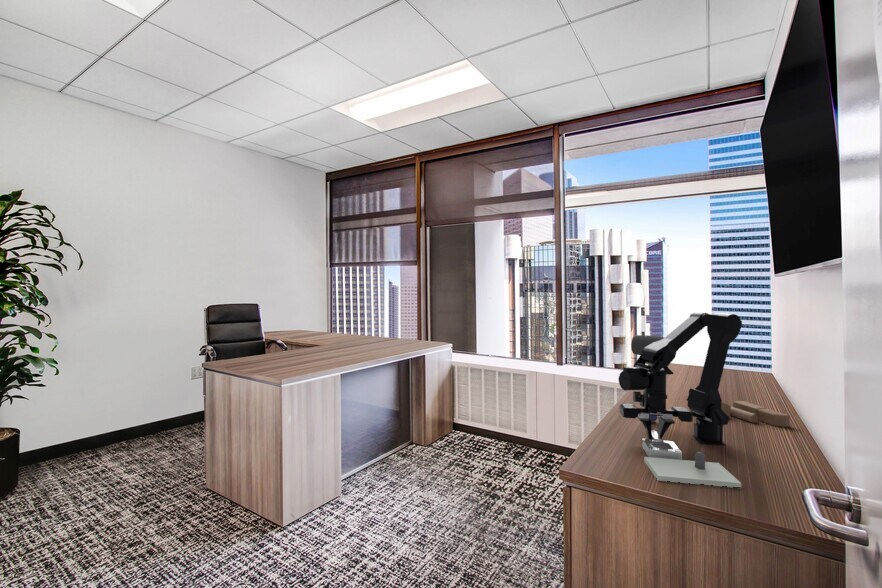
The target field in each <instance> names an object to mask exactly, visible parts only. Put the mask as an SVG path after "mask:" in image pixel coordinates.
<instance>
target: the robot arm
mask: <svg viewBox="0 0 882 588" xmlns="http://www.w3.org/2000/svg"><path fill="white" fill-rule="evenodd" d="M705 327H706V332H707V335H708V337H709V345H708V347H707V352H706V355H705V360H704V364H703V368H702V372H701V376H700V380H699V383H698V385H697V386H695V388H690V389H689V390H688V396H687V397H686V399H685V400H686V401H687V407H688V408H686V407H685V406H671V408H670V409H667V399H668V394H667V376H669V375H671V376H672V375H674V372H673V371H672V370H671V369H670V368H669V365H670V364H671V363H672V362H673V361H674V359H675V358H676V355H677V352H678V351H679V350H680V349H681V348H682V347H683V346H684V345H686V343H688V342H689V341H690V340H691V339H692V338H694V337H695V336H696V335H697V334H698V333H699V332H701V331H702V330H703V329H704V328H705ZM742 327H743V321H742V320H741V318H740V316H739V315H737V314H735V313H722V312H714V313H711V314H710V313H707V312H701V311H700V312H698V311H695V312H692V313H690V315H689V317H687V318H686V319H685V320H684V321H683V322H682V323H681V324H679V325H678V326H677V327H676V328H675V329H673V330H672V331H671V332H670V333H668V334H667V335H666V336H665V338H664V339H662V340H659V341H656V342H653V343H652V344H650V345H648V346H646V347H645V348H644V349H643V350H642V354H641V355H639V357H638V358H637V360H636V361H635V363H634V364H633V365H632V366H631V367H630V366H623V367H622V370H621V371H620V373H619V375H618V384H619V386H620V388H621V389H622V390H623V391H632V399H633V402H634V403H639V406H640V407H637V406H636V405H635V404H634V403H621V404H620V405H619V411H618V412H619V413H620V415H621V416H622V417H623V418H625V419H638V420H639V421H640V422H641V423H642V425H643V427H644V430H645V433H646V436H647V439H651V438H652V431H653V430H652V429H653V427H652V423H653V422H651V420H650V419H649V415H654V416H657V421H658V423H657V424H658V426H657V434H658V435H659V436H660V437H661V439H662V440H663V437H664V435H665V434H666V432H667V430H668V429H669V427H670V426H671V425H674V424H675V420H674V418H678V420H679V421H680V422H686V423H693V420H694V418H695V422H694V423H693V435H692V437H694V438H695V439H696V440H698V441H699V442H700V443H701V444H711V445H726V442H725V441H724V440H723V438H724V437H723V436H724V431H723V430H724V426H726V425H728V424H729V420H730V418H729V417H728V416H727V415H726V414H725V413H724V411H723V410H722V409H721V404H722V403H723V401H722V398H721V395H720V391H719V388H720V385H721V380H722V375H723V373H724V372H723V371H724V369H725V363H726V359H727V355H728V352H729V348H730V345H731V343H733V341H735V339H737V337H739V334H740V333H741V329H742ZM649 365H651V366H649ZM641 391H643V394H642V392H641Z"/></svg>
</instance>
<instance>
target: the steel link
mask: <svg viewBox="0 0 882 588" xmlns="http://www.w3.org/2000/svg"><path fill="white" fill-rule="evenodd" d="M657 433H658V431H656V430H652V438H651V439H648V438H642V442H641V443H642V448H643V451H644V453H645V454H646V455H647V456H646V457H652V458H664V459H676V460H683V452H682V451H681V450H680V448H679V447H678V446H677V445H676V443H675V442H674V441H671V440H664V439H663V438H662V439H661V437H660V436H659V435H658V434H657Z"/></svg>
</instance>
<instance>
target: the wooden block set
mask: <svg viewBox="0 0 882 588" xmlns="http://www.w3.org/2000/svg"><path fill="white" fill-rule="evenodd" d="M721 409H722V410H723V411H724V413H725V414H726V415H727V416H728V417H729V419H730V418H731V417H734V418H737V419H740V420H744V421H746V422H749V423H751V424H755V423H757V422H758V421H759V422H762V423H765V424H769V425H771V426H774V427H781V428H789V427H790V424H791V423H790V422H791V415H790V414H787V413H784V412H779V411H776V410H773V409H770V408H767V407H764V406H762V405H761V406H760V405H758V404H755V403H752V402H747V401H744V400H736V401H733V403H732V406H731V405H729V404H727V403H726V402H722V404H721Z"/></svg>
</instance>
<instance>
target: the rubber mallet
mask: <svg viewBox="0 0 882 588" xmlns="http://www.w3.org/2000/svg"><path fill="white" fill-rule="evenodd" d="M665 337H666V336H665ZM665 337H664V336H659V335H647V334H646V335H644V334H642V335H641V334H636V335H633V337H632V338H631V339H632V340H631V342H630V343H631V344H630V347H631V348H630V350H631V352H632V353H633V355H637V356H640V355H641V354H642V350H643V349H644V348H645V347H646V346H648V345H650V344H652V343H653V342H656V341H659V340H662V339H664V338H665ZM649 366H651V365H649ZM649 419H650V420H651V422H652V423H656V421H658V416H654V415H649Z"/></svg>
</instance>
